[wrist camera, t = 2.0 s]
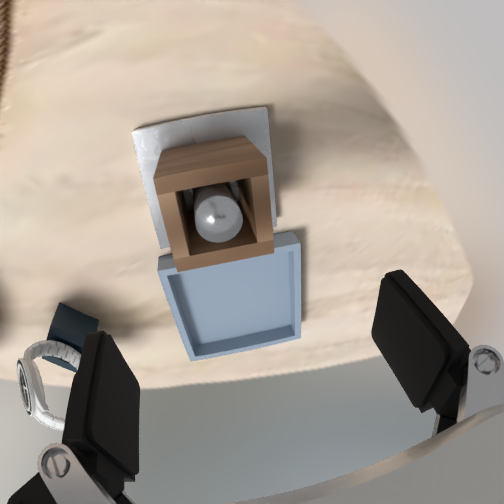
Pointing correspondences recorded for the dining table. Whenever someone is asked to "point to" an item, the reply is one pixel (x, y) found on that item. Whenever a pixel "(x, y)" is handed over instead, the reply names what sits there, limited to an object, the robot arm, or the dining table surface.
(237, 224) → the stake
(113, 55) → the dining table surface
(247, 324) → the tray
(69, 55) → the dining table surface
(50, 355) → the watch
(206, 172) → the collar
